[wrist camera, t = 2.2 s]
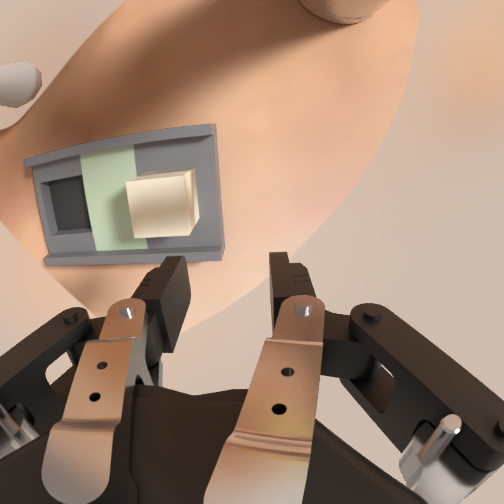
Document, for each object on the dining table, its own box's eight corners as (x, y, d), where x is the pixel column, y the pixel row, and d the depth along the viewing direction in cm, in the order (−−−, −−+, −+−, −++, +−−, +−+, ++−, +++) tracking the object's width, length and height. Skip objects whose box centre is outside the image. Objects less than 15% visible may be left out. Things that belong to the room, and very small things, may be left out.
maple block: (145, 172, 28) (125, 181, 23) (194, 167, 28) (182, 175, 23) (152, 220, 30) (134, 238, 25) (199, 217, 30) (189, 235, 25)
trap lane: (40, 155, 29) (22, 159, 25) (215, 124, 28) (210, 123, 25) (59, 254, 34) (45, 265, 30) (224, 247, 33) (221, 260, 30)
